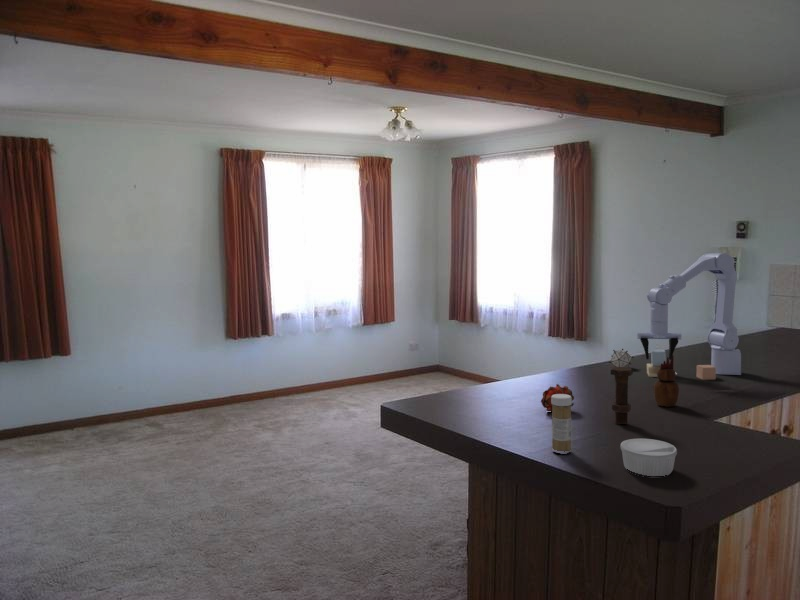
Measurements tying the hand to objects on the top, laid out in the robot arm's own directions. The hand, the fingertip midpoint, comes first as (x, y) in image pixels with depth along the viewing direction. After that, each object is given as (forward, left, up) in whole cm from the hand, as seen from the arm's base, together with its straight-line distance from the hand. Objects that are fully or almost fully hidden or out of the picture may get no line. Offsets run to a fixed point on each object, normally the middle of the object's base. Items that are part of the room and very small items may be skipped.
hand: (658, 359), depth 224 cm
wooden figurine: (+3, +42, -7) cm, 43 cm away
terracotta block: (-15, +3, -7) cm, 17 cm away
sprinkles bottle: (+32, +91, -7) cm, 97 cm away
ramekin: (+14, +99, -7) cm, 100 cm away
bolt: (+17, +64, -7) cm, 67 cm away
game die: (+12, -11, -7) cm, 18 cm away
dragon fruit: (+34, +55, -7) cm, 65 cm away
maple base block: (0, 0, -6) cm, 6 cm away
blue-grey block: (0, -1, -2) cm, 3 cm away
